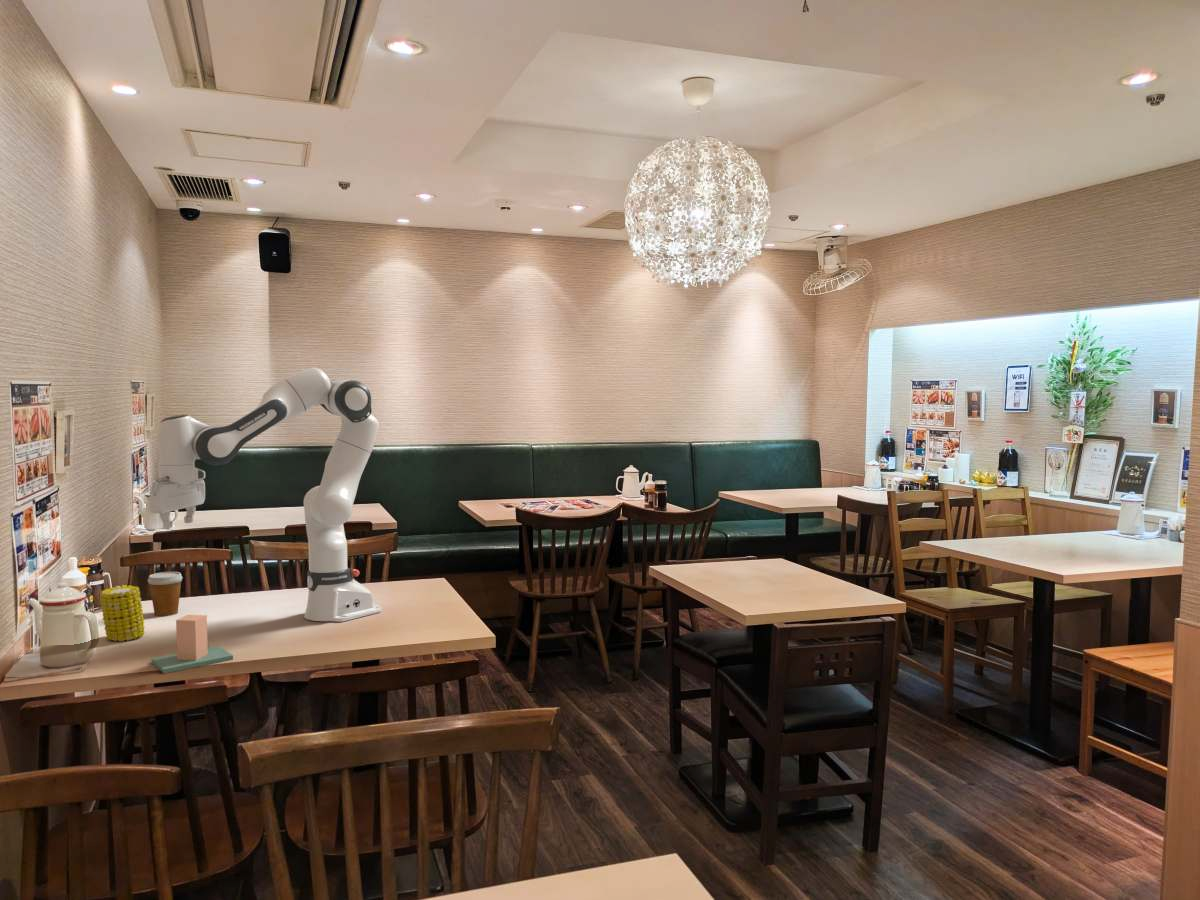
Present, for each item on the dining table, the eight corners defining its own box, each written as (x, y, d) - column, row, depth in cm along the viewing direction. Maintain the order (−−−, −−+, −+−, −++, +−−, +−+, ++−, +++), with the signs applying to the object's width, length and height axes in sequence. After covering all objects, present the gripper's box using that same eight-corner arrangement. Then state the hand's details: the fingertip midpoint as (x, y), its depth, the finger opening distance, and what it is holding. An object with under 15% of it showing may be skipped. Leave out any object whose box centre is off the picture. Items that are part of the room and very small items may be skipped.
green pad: (218, 649, 219) (218, 645, 219) (233, 659, 211) (232, 655, 211) (151, 662, 208) (151, 658, 208) (164, 673, 200) (163, 669, 200)
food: (151, 640, 231) (115, 652, 223) (126, 625, 237) (90, 636, 228) (155, 590, 228) (118, 599, 219) (129, 576, 233) (92, 584, 225)
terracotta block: (189, 653, 212) (187, 614, 212) (207, 654, 212) (206, 615, 211) (177, 659, 207) (176, 620, 207) (196, 660, 207) (195, 620, 206)
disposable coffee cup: (183, 615, 252) (182, 576, 251) (147, 619, 248) (146, 579, 247) (184, 608, 260) (182, 570, 260) (149, 611, 256) (148, 573, 255)
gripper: (164, 478, 215) (166, 532, 216) (209, 471, 236) (210, 520, 237) (141, 478, 216) (143, 531, 217) (187, 471, 236) (189, 519, 237)
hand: (178, 525), depth 227 cm, fingers open, 8 cm apart
